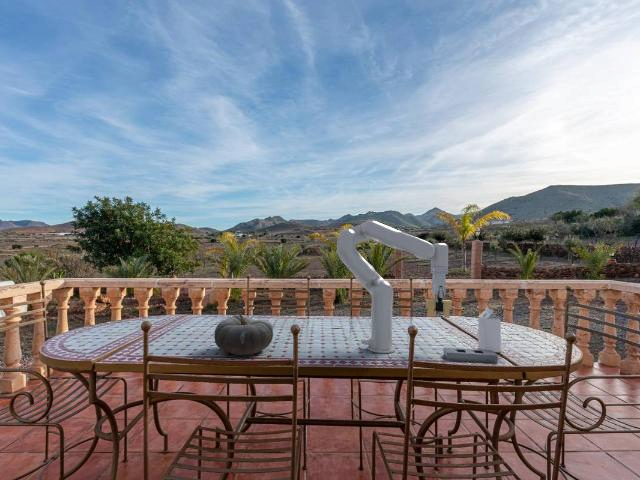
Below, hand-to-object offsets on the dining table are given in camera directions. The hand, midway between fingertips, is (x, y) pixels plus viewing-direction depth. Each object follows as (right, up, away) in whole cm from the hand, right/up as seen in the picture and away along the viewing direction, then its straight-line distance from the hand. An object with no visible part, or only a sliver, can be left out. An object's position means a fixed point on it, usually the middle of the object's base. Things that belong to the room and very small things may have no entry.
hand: (438, 310), depth 168 cm
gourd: (-88, -18, -5) cm, 90 cm away
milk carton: (+24, -19, +1) cm, 30 cm away
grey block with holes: (+9, -18, -12) cm, 24 cm away
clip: (0, -3, 0) cm, 3 cm away
